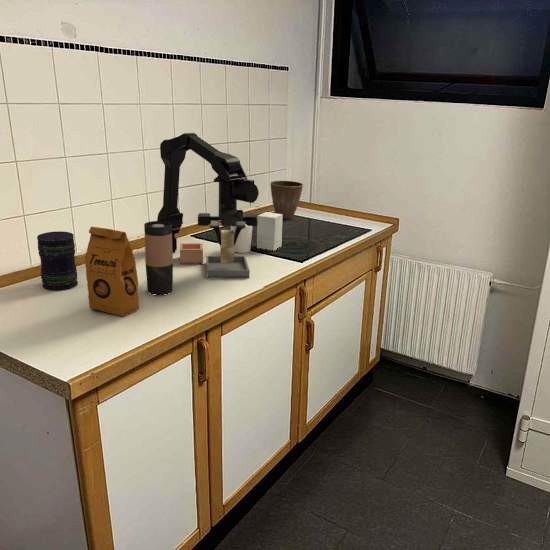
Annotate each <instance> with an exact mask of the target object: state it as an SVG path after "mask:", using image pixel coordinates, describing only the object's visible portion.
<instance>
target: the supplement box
mask: <svg viewBox="0 0 550 550" xmlns="http://www.w3.org/2000/svg"><path fill="white" fill-rule="evenodd" d="M256 216H257V219H258V224H257V226H256V232H257V233H256V249H260V248H261V250H266V249H267V250H268V251H272V250H273V251H277V250H278V249H280V248H281V247H282V243H283V242H282V240H283V219H282V218H283V214H276V213H275V212H267V211H265V212H263V213H261V214H258V215H256ZM279 247H280V248H279ZM277 248H278V249H277ZM267 250H266V251H267ZM273 251H272V252H273Z"/></svg>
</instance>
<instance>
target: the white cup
mask: <svg viewBox="0 0 550 550" xmlns="http://www.w3.org/2000/svg"><path fill="white" fill-rule="evenodd" d="M245 226H246V228H243V229H242V230H241V231H240V233H239V235H238V238H237V240H236V243H235V246H234V253H236V252H239V253H238V254H246V252H247V253H249V252H251V244H252V238H253V237H252V234H253V226H247V225H246V224H245ZM234 229H235V226H230V230H233V231H234Z"/></svg>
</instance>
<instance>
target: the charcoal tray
mask: <svg viewBox="0 0 550 550" xmlns="http://www.w3.org/2000/svg"><path fill="white" fill-rule="evenodd" d="M205 260H206V261H205V264H206V266H205V267H206V278H207V279H248V278H249V279H250V272H251V271H250V267H249V264H248V261H247V258H246V255H234V262H233V263H221V260H220V255H206V256H205Z"/></svg>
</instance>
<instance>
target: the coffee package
mask: <svg viewBox="0 0 550 550" xmlns="http://www.w3.org/2000/svg"><path fill="white" fill-rule="evenodd" d="M88 233H89V234H90V236H89V241H88V243H87V248H86V252H85V257H84V264H85V273H86V274H85V276H86V282H87V283H86V286H87V287H86V288H87V292H88V294H87V295H88V296H87V298H88V306H89V307H88V308H89V309H93V310H97V311H101V312H104V313H107V314H111V315H116V316H120V317H123V318H124V317H126V316H127V315H130V314H133V313H134V312H137V311H138V310H139V308H140V304H139V299H140V297H139V279H138V272H137V263H136V258H135V256H134V253H133V249H132V247H131V244H130V243H131V242H130V241H129V238H128V235H127V232H125V231H121V230H115V229H111V228H107V227H106V228H104V227H97V226H90V228H89V230H88Z"/></svg>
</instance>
